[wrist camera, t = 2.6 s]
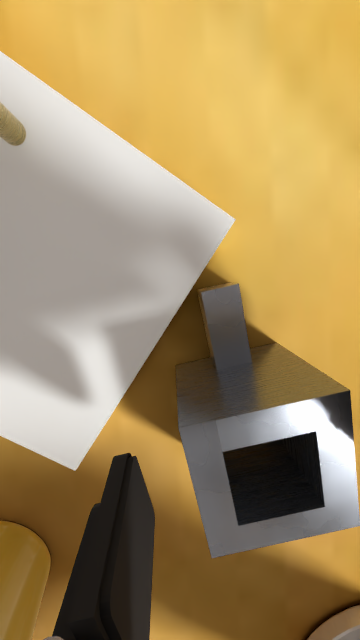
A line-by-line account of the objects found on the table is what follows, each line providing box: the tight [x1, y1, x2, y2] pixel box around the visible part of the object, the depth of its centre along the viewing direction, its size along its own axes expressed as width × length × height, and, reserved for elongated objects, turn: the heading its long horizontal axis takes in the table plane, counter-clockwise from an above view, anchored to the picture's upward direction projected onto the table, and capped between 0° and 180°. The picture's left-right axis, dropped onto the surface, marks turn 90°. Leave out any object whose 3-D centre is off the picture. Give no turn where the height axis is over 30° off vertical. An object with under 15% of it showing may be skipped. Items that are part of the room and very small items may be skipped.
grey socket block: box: [176, 282, 360, 558], centre depth 11 cm, size 10×6×6 cm, turn 13°
